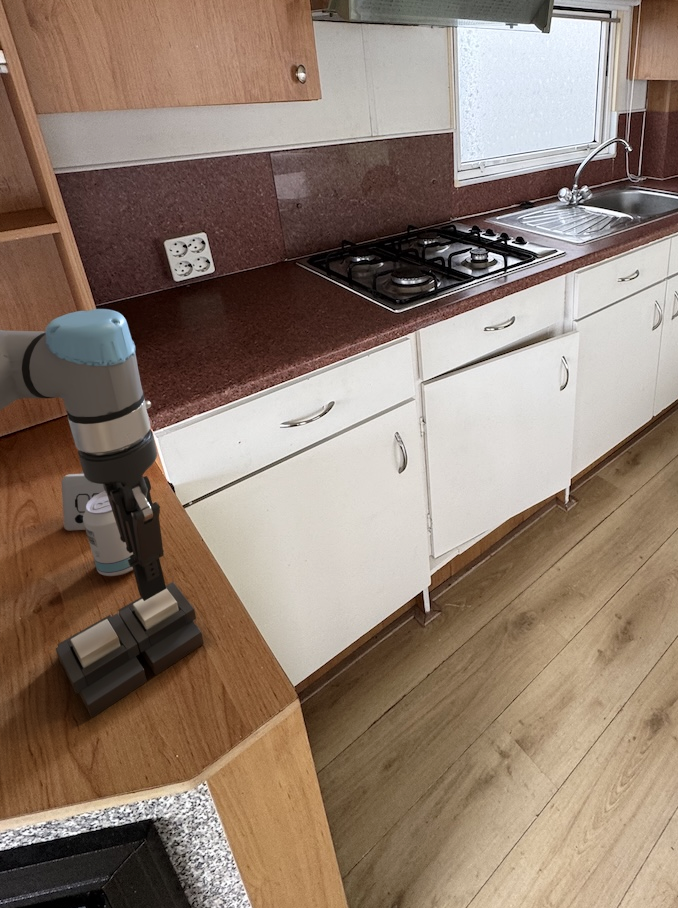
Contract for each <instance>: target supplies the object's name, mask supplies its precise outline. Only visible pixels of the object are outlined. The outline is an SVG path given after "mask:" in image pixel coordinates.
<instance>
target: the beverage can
mask: <svg viewBox="0 0 678 908" xmlns="http://www.w3.org/2000/svg"><path fill="white" fill-rule="evenodd" d="M83 522H84V526H85V529H86V530H85V532H86V536H87V539H88V544H89V546H90V551H91V555H92V557H93V561H94V565H95V569H96V571H97V573H98V574H100V575H102V576H105V577H115V576H122V575H126V574H128V573H130V572H132V571H134V570H133V567H131V566H130V565H129V563H128V560H129V559H130V556H131V555H133V552H132V553H129V552H128V551H127V549H126V547H127V546H126V542H123V541H121V539H120V533H119V530H118V527H117V524H116V521H115V518H114V515H113V511H112V508H111V505H110V502H109V499H108V496H107V493H106V491H104V492H101V493H99V494H97V495H96V496H94V497H93V498H91V499H90V500H89V501H88V503H87V504H86V511H85V513H84V515H83Z"/></svg>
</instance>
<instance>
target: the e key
mask: <svg viewBox="0 0 678 908" xmlns="http://www.w3.org/2000/svg"><path fill="white" fill-rule="evenodd" d="M133 607H134V611H135V614H136V616H137V617H138V619H139V620H140V622H141V623H142V624H143V626H144V627H145V629H146V630H148V629H150V628H151V627H153V626H155V625H156V624H158V623H160V622H161V621H163V620H165V619H166V618H168V617H170V616H171V615H173V614H175V613H176V612H178V611H179V610H178V605H177V602H176V600H175V599H174V598H173V596H172V595H171V594H170V592H169V591H168V590H167V588H166V589H165V590H163V591H161V592H160V593H158V594H156V595H154V596H153V597H151V598H149V599H147V600H146V601H144V600H143V599H141V600H139V601H137V602H136V603H134V604H133Z"/></svg>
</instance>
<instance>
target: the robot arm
mask: <svg viewBox="0 0 678 908" xmlns="http://www.w3.org/2000/svg"><path fill="white" fill-rule="evenodd" d="M56 398H57V399H59V398H60V399H62V402H63V405H64V408H65V411H66V414H67V420H68V424H69V428H70V432H71V435H72V438H73V443H74V446H75V448H76V449H77V450H78V452H77V455H78V458H79V462H80V465H81V466H80V467H81V469H82V473H84V476H85V478H86V479H87V480H89V481H91V482H93V483H98V484H103V486H104V490H105V491H106V493H107V496H108V499H109V502H110V505H111V508H112V511H113V515H114V518H115V521H116V524H117V527H118V530H119V533H120V539H121V541H123V542H126V546H127V547H126V549H127V551H128V552H129V553H132V552H133V555H131V556H130V559H129V560H128V563H129V565H130V566H131V567H133V570H132V571H133V574H134V578H135V582H136V586H137V590H138V593H139V597H141V598H142V599H143V600H144V601H146V600H147V599H149V598H151V597H153V596H154V595H156V594H158V593H160V592H161V591H163V590H165V589H166V585H167V584H166V581H165V576H164V573H163V572H164V571H163V568H162V564H161V559H160V558H161V557H163V556H164V555H165V554H164V551H165V550H164V547H163V546H164V545H163V539H162V530H161V523H160V513H161V506H160V504H159V503H158V502H153V499H152V496H151V495H152V494H151V490H152V485H151V481H150V479H149V477H148V475H145V473H146V472H147V470H148V469H149V468H151V467H152V466H153V465H154V463H155V462H156V460H157V457H158V450H157V446H156V441H155V437H154V433H153V431H152V429H151V421H150V417H149V416H150V415H149V413H148V411H147V410H148V409H150V408H151V407H152V402H151V400H146V399H145V394H144V390H143V387H142V383H141V377H140V371H139V367H138V360H137V355H136V345H135V342H134V340H133V339H132V335H131V331H130V328H129V324H128V322H127V319H126V318H125V317H124V315H123V314H122V313H120V312H119V311H116V310H113V309H108V308H93V309H90V310H89V309H88V310H78V311H73V312H69V313H66V314H63V315H60V316H57V317H55V318H54V319H52V320H51V321H50V322H49V323H47V325H46V327H45V330H44V331H40V330H39V331H38V330H37V331H34V330H4V329H0V411H2V410H3V409H4V408H6V407H8V406H9V405H11V404H12V403H14V402H16V401H17V400H23V399H56ZM144 475H145V476H144Z"/></svg>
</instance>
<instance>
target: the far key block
mask: <svg viewBox="0 0 678 908" xmlns="http://www.w3.org/2000/svg"><path fill="white" fill-rule="evenodd" d="M165 585H166V588H167V590H168V591H169V592H170V594H171V595H172V596H173V598H174V599H175V600H176V602H177V605H178V610H179V611H178V612H176V613H175V614H173V615H171V616H170V617H168V618H166V619H165V620H163V621H161V622H160V623H158V624H156V625H155V626H153V627H151V628H150V629H148V630H146V629H145V627H144V626H143V624H142V623H141V622H140V620H139V619H138V617H137V616H136V614H135V611H134V607H133V604H134V603H136V602H137V601H139V600H141V599H142V598H141V596H139V598H136V599H135V600H134V601H132V602H130V603H128V604H126V605H124V606H122V607H121V608H119V609H118V614H119V616H120V618H121V619H122V621H123V622H124V624H125V625H126V627H127V629H128V630H129V632H130V633H131V635H132V636H133V638H134V640H135V641H136V643H137V645H138V649H139V653H140V654H141V655H142V656H143V658H144V660H145V662H146V663H147V664H148V666H149V667H150V669H151V671H152V673H153V674H154V676H158V675H159V674H160V673H162V672H164V671H165V670H167V669H168V668H170V667H171V666H173V665H174V664H176V663H177V662H179V661H181V660H182V659H183V658H185V657H186V656H188V655H189V654H192V652H194V651H195V650H197V649H198V648H200V647H202V646H203V645H204V644H205V643H204V637H203V633H202V631H201V629H200V628H199V626H198V625H197V624H196V622H195V621H194V620H196V619H197V616H196V615H197V614H196V610H195V608H194V606H193V604H192V603H190V601H189V600H188V599H187V597H186V596H185V595H184V594H183V592H182V591H181V590H180V588H179V587H178V586H177V585H176V583H175V582H174V581H172V582H170V583H168V584H165Z"/></svg>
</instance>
